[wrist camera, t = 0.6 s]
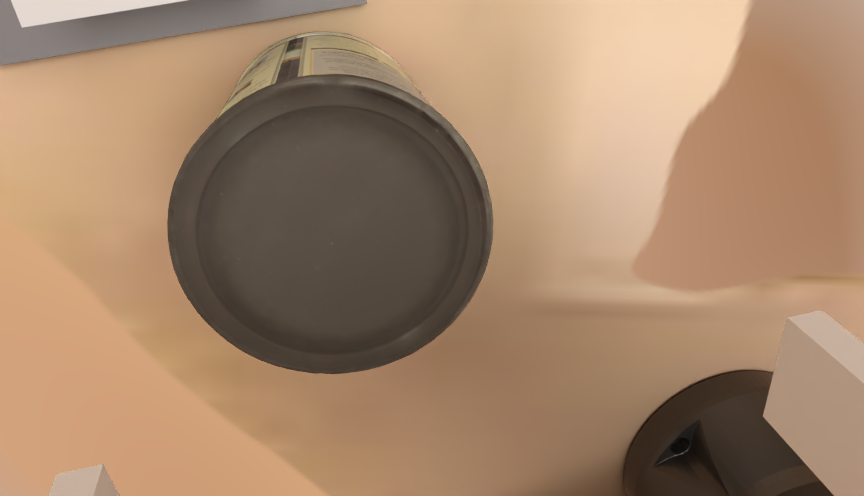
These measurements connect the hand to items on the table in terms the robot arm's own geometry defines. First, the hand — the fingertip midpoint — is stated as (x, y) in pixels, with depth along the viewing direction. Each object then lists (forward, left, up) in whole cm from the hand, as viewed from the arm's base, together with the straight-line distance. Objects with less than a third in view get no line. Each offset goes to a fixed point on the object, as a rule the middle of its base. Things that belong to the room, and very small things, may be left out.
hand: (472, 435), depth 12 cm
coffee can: (+1, +2, -24) cm, 24 cm away
